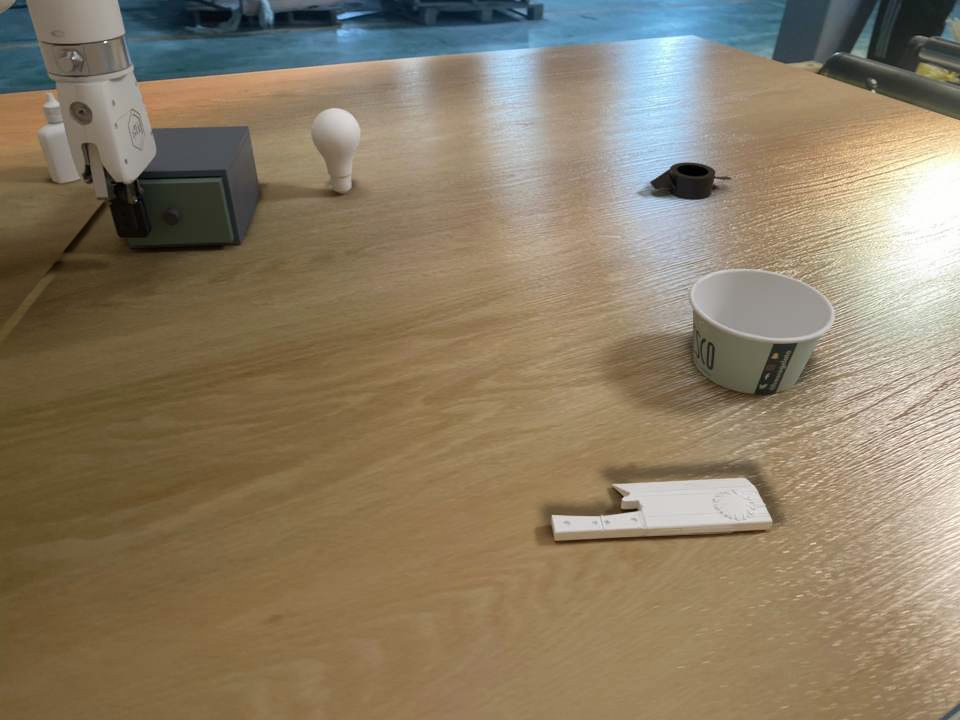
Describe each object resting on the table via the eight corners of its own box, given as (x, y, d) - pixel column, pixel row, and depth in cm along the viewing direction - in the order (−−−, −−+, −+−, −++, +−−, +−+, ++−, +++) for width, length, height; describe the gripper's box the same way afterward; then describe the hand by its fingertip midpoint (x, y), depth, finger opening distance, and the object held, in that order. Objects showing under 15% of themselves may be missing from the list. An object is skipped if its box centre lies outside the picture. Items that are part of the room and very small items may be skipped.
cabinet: (240, 244, 88) (225, 169, 83) (129, 248, 87) (106, 172, 82) (260, 194, 100) (248, 125, 95) (162, 197, 99) (144, 128, 94)
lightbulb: (373, 195, 100) (366, 111, 94) (331, 206, 97) (321, 120, 91) (352, 180, 104) (344, 99, 98) (311, 190, 101) (300, 107, 95)
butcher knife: (544, 488, 56) (545, 477, 55) (745, 480, 57) (748, 469, 56) (554, 541, 52) (555, 529, 51) (771, 531, 52) (774, 520, 52)
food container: (845, 390, 66) (867, 326, 62) (722, 416, 63) (737, 350, 59) (764, 319, 75) (780, 260, 71) (654, 338, 72) (664, 278, 68)
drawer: (230, 247, 86) (217, 185, 81) (126, 250, 85) (107, 188, 81) (251, 195, 98) (241, 139, 93) (161, 198, 97) (146, 141, 93)
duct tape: (656, 176, 106) (658, 155, 104) (730, 185, 103) (734, 165, 101) (646, 197, 100) (649, 176, 98) (725, 208, 97) (729, 186, 95)
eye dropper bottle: (53, 181, 104) (23, 91, 97) (98, 174, 106) (71, 86, 99) (55, 193, 100) (24, 101, 93) (101, 185, 103) (74, 94, 96)
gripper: (100, 77, 66) (150, 266, 76) (152, 38, 78) (189, 206, 89) (11, 77, 65) (73, 267, 76) (77, 38, 78) (123, 207, 88)
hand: (135, 234), depth 82 cm, fingers closed
